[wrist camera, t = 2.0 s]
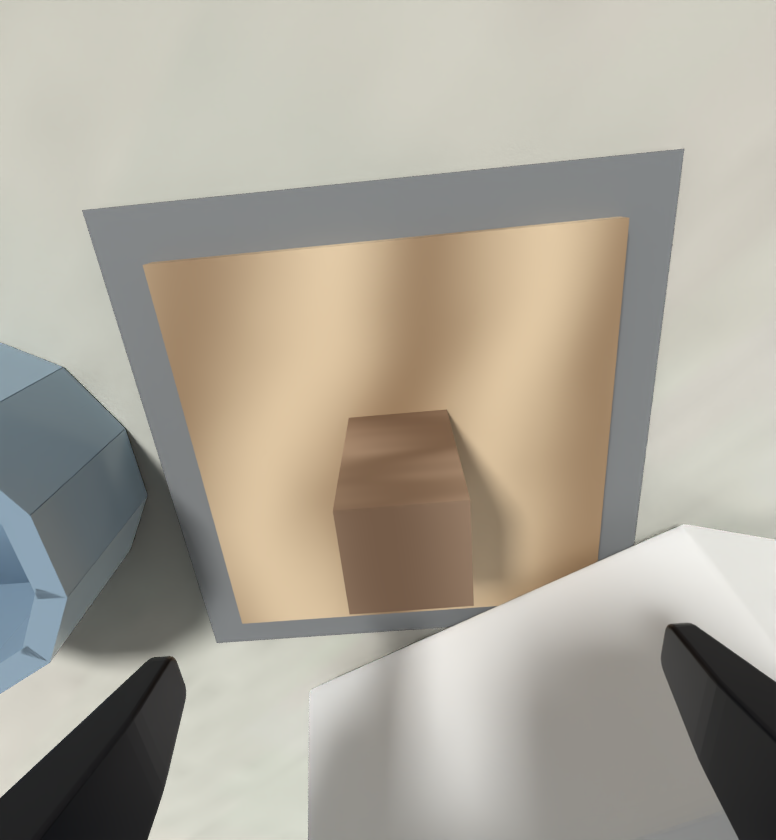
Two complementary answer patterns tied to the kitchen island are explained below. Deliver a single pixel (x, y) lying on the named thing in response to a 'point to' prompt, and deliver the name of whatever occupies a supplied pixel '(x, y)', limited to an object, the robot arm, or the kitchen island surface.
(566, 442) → the oak lid
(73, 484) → the ceramic bowl
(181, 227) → the rubber mat
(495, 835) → the milk carton
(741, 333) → the kitchen island surface
